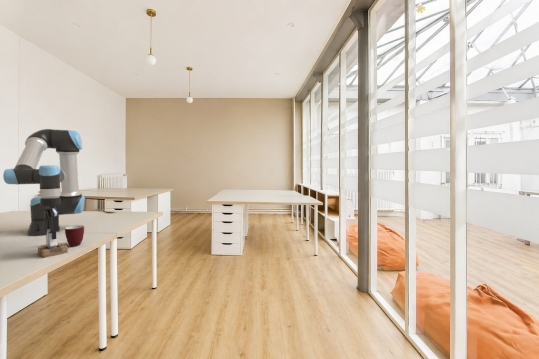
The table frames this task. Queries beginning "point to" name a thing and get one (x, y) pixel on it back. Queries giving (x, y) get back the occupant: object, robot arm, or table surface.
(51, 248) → the long peg
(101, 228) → the table surface
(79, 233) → the mug
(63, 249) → the socket block
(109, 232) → the table surface
